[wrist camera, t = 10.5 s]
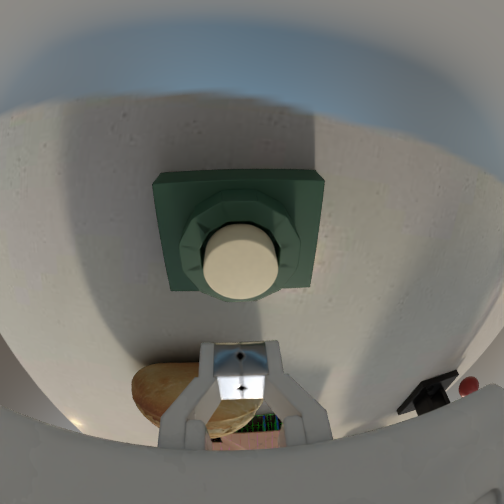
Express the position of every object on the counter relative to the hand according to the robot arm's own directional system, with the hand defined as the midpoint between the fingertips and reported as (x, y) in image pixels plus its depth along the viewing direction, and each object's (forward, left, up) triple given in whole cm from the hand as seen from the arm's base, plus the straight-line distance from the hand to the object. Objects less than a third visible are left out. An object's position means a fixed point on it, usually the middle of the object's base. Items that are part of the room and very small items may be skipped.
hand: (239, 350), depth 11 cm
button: (0, 0, -7) cm, 7 cm away
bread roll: (+17, -5, -11) cm, 21 cm away
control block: (0, 0, -10) cm, 10 cm away
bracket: (+34, +34, -10) cm, 50 cm away
